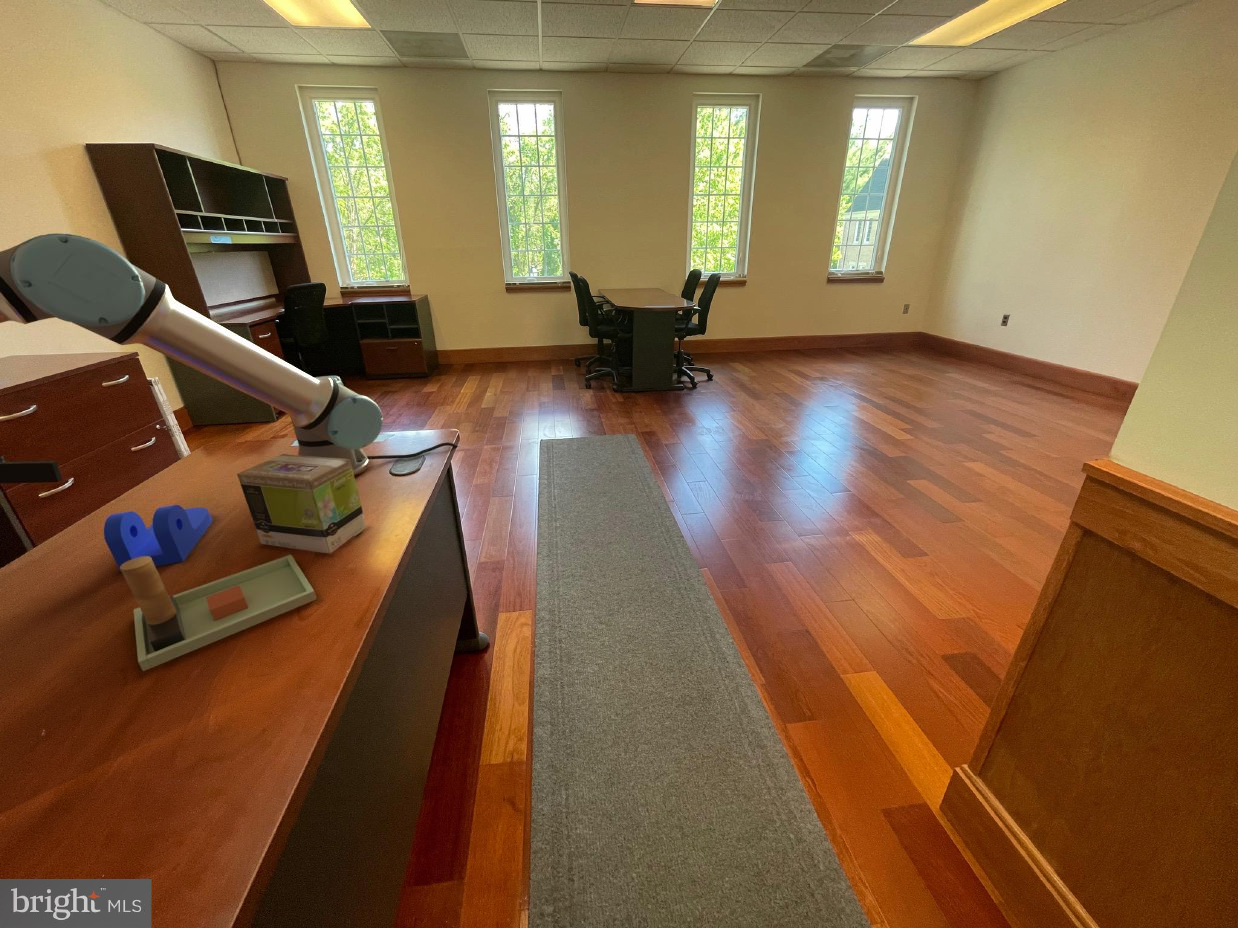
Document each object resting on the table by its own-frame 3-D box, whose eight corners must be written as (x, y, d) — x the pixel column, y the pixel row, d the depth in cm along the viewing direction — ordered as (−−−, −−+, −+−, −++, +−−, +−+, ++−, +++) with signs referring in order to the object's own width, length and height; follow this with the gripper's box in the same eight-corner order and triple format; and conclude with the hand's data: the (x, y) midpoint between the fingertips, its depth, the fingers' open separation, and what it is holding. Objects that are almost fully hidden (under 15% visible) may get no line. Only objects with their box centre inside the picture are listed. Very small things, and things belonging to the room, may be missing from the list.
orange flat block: (243, 595, 73) (239, 584, 72) (248, 607, 71) (244, 597, 70) (210, 607, 71) (205, 596, 70) (214, 621, 68) (209, 610, 67)
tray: (294, 564, 82) (290, 554, 81) (317, 601, 73) (314, 590, 72) (139, 620, 69) (133, 609, 68) (144, 674, 60) (137, 662, 59)
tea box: (368, 527, 93) (352, 457, 87) (330, 556, 84) (308, 481, 78) (303, 519, 95) (282, 451, 90) (259, 546, 86) (233, 472, 81)
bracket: (183, 561, 82) (163, 516, 78) (121, 572, 79) (97, 526, 76) (218, 513, 97) (202, 473, 94) (167, 521, 94) (149, 480, 91)
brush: (179, 608, 70) (148, 542, 66) (187, 644, 64) (154, 574, 59) (152, 618, 68) (118, 551, 64) (157, 656, 62) (120, 585, 57)
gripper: (-102, 486, 64) (97, 482, 69) (-426, 595, 41) (-92, 575, 47) (-126, 433, 61) (82, 432, 67) (-486, 516, 39) (-126, 505, 44)
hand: (11, 491), depth 57 cm, fingers open, 13 cm apart
